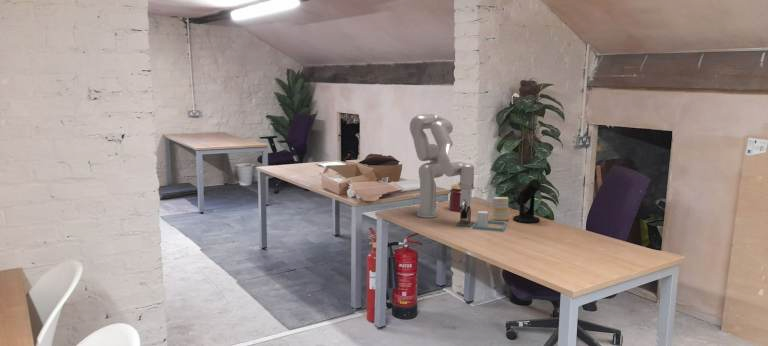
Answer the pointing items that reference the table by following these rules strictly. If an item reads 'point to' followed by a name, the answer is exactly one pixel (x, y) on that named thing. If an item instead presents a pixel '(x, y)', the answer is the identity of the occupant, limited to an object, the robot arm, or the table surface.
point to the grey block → (482, 218)
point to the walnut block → (468, 220)
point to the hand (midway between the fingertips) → (465, 216)
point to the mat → (465, 224)
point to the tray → (490, 227)
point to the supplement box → (500, 208)
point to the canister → (455, 198)
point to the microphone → (523, 198)
